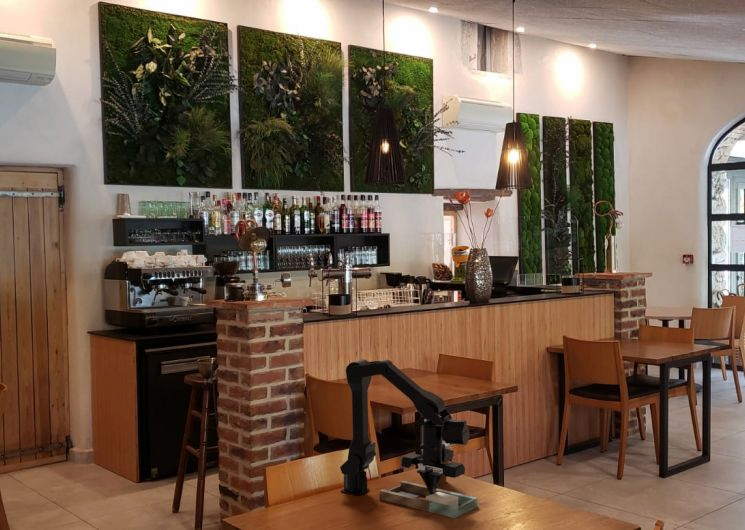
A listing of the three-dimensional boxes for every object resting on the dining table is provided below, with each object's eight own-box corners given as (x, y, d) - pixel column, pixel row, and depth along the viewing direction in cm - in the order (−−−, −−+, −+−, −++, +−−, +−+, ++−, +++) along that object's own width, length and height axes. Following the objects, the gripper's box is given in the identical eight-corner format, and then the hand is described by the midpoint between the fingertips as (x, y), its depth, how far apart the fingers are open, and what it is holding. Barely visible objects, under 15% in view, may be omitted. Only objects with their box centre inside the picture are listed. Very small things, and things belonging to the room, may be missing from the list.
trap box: (379, 499, 239) (379, 490, 239) (403, 488, 249) (403, 480, 248) (455, 518, 223) (455, 509, 223) (477, 506, 233) (477, 497, 233)
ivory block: (425, 508, 232) (425, 496, 232) (438, 503, 236) (438, 491, 236) (445, 514, 227) (445, 502, 227) (458, 509, 231) (458, 497, 231)
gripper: (474, 440, 235) (474, 493, 236) (421, 430, 246) (421, 481, 247) (454, 448, 226) (454, 504, 227) (399, 438, 237) (399, 491, 238)
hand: (432, 494), depth 235 cm, fingers closed
